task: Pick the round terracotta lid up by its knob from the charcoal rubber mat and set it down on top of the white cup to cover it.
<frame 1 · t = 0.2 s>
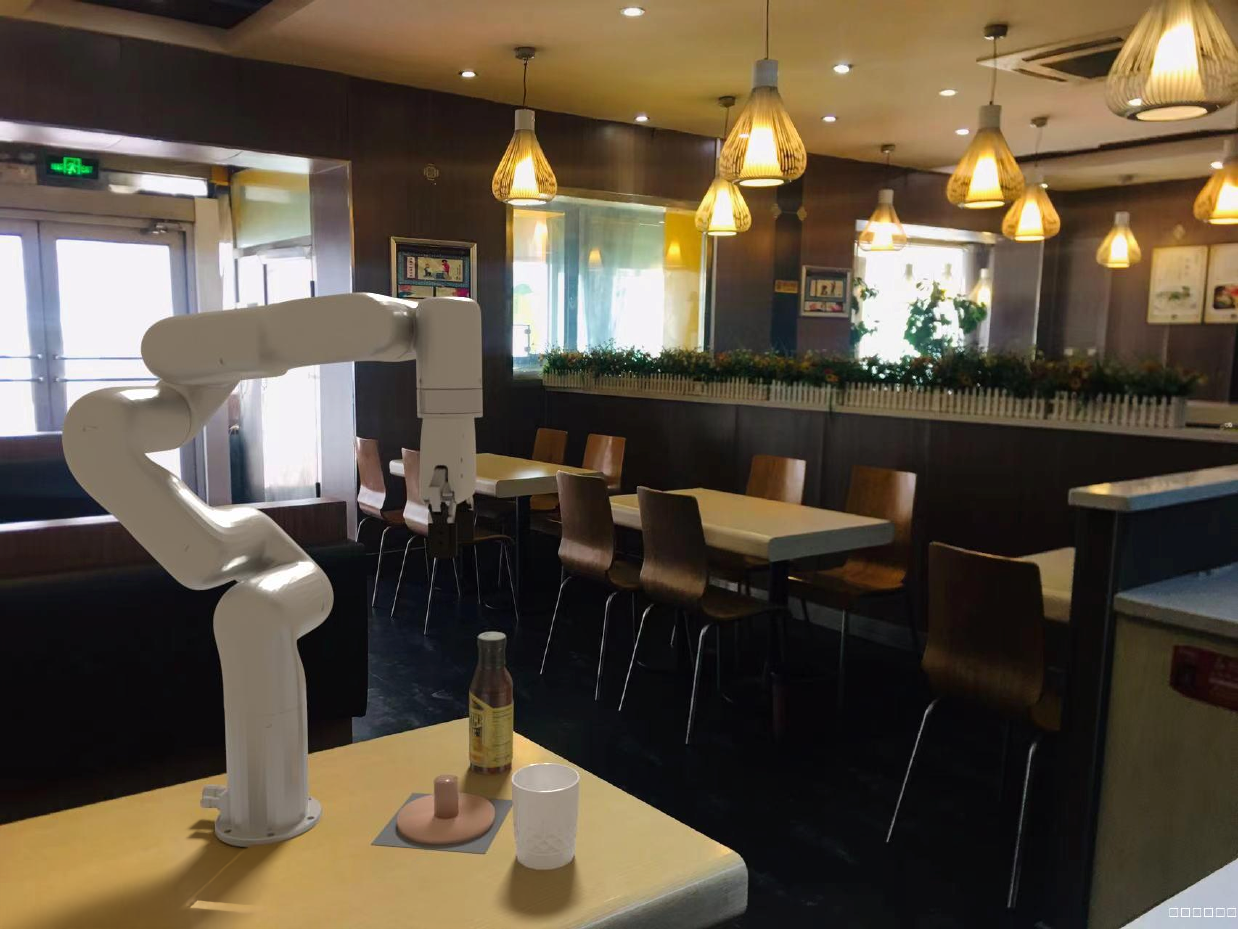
hand: (452, 549, 111), 36 cm above the table, tool pointing down, fingers open, 9 cm apart
white cup: (545, 860, 110), on the table
sauce bottle: (491, 771, 135), on the table
lid: (446, 821, 118), point 1 cm above the table, touching mat
mat: (446, 825, 118), on the table
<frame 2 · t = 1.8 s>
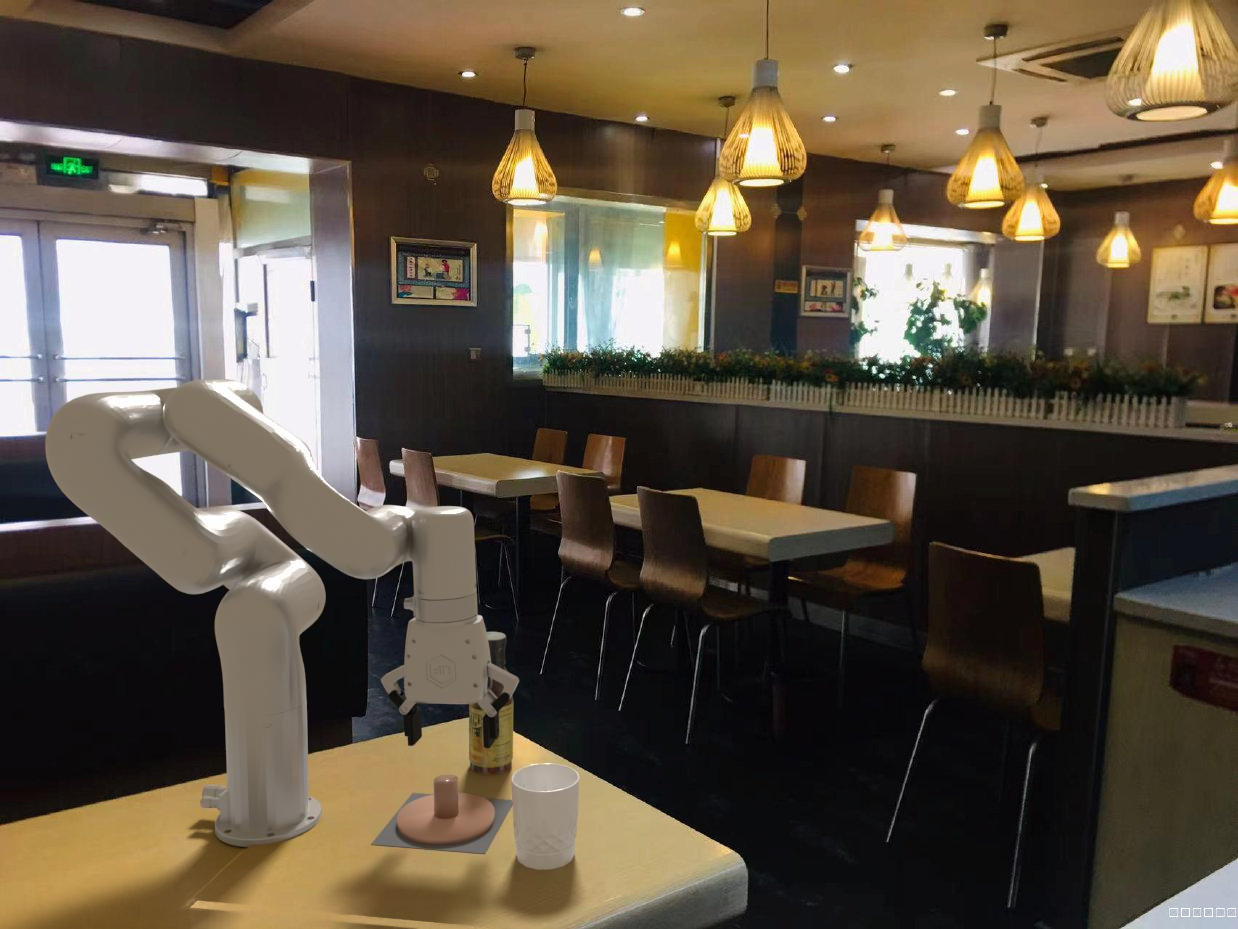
hand: (452, 742, 117), 11 cm above the table, tool pointing down, fingers open, 9 cm apart
nothing on the table moved.
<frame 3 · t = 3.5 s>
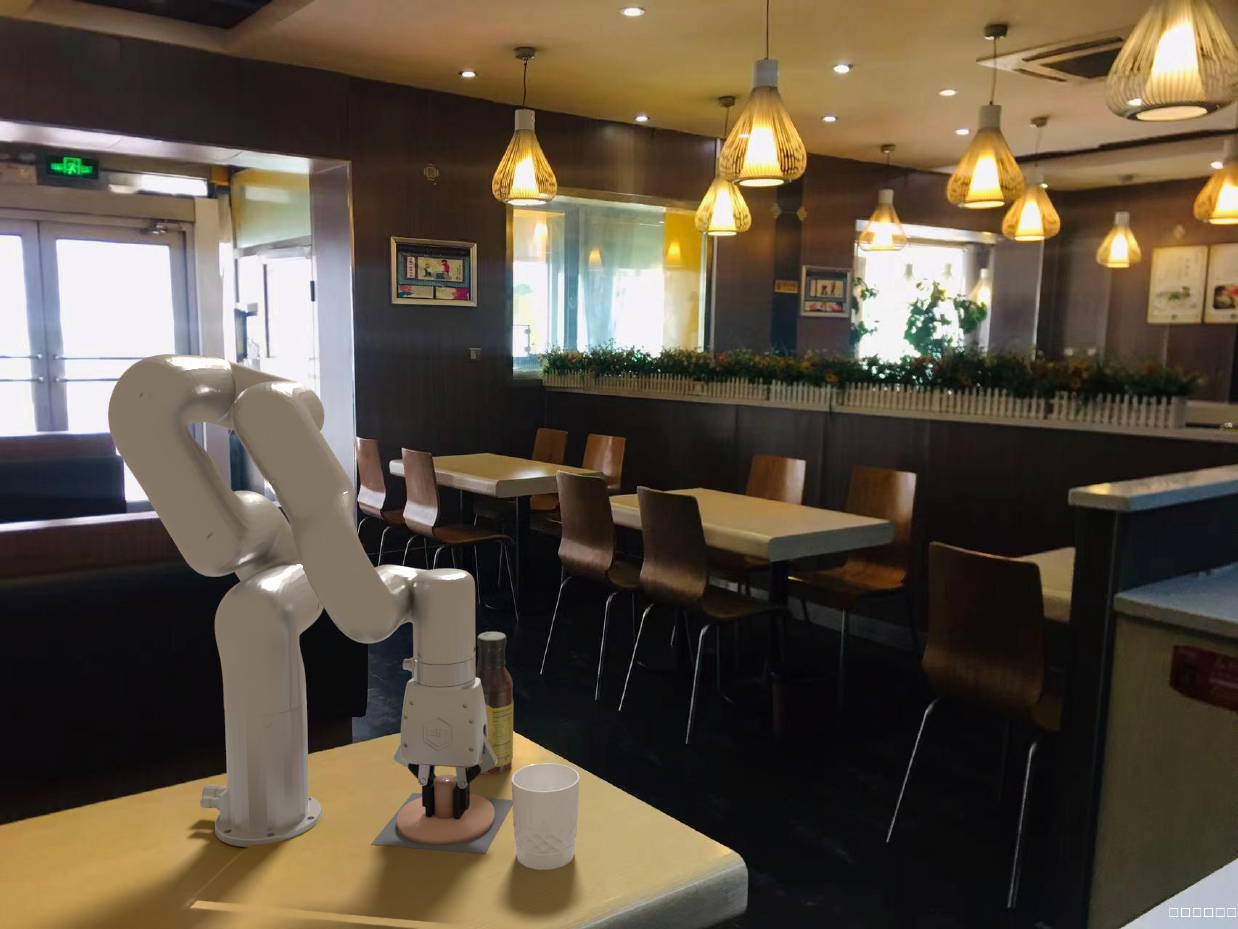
hand: (446, 812, 118), 2 cm above the table, tool pointing down, fingers closed on lid, 3 cm apart
lid: (446, 821, 118), point 1 cm above the table, touching gripper, mat
everything else where it was.
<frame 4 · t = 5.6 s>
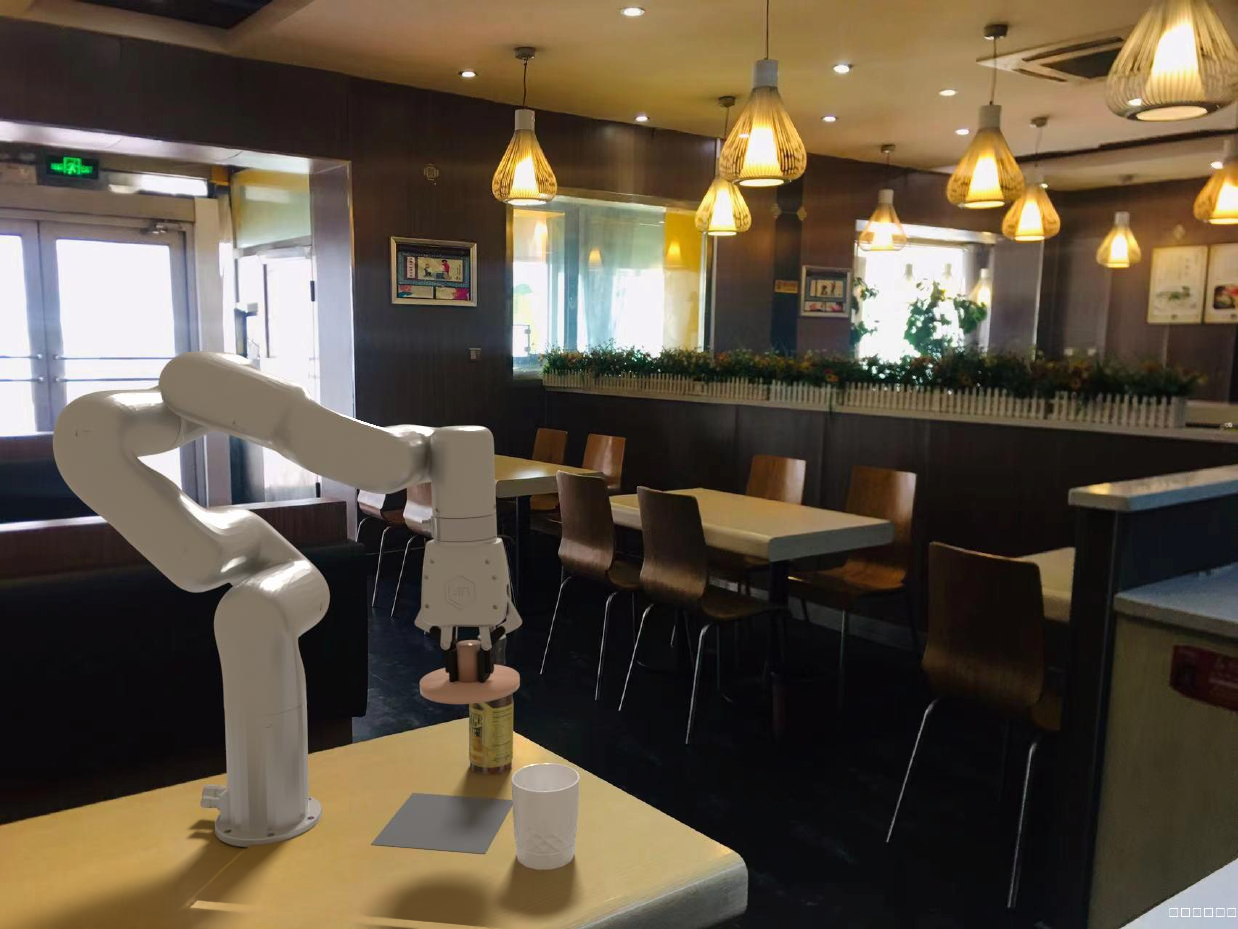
hand: (470, 677, 114), 20 cm above the table, tool pointing down, fingers closed on lid, 3 cm apart
lid: (470, 686, 114), point 18 cm above the table, touching gripper
everything else where it was.
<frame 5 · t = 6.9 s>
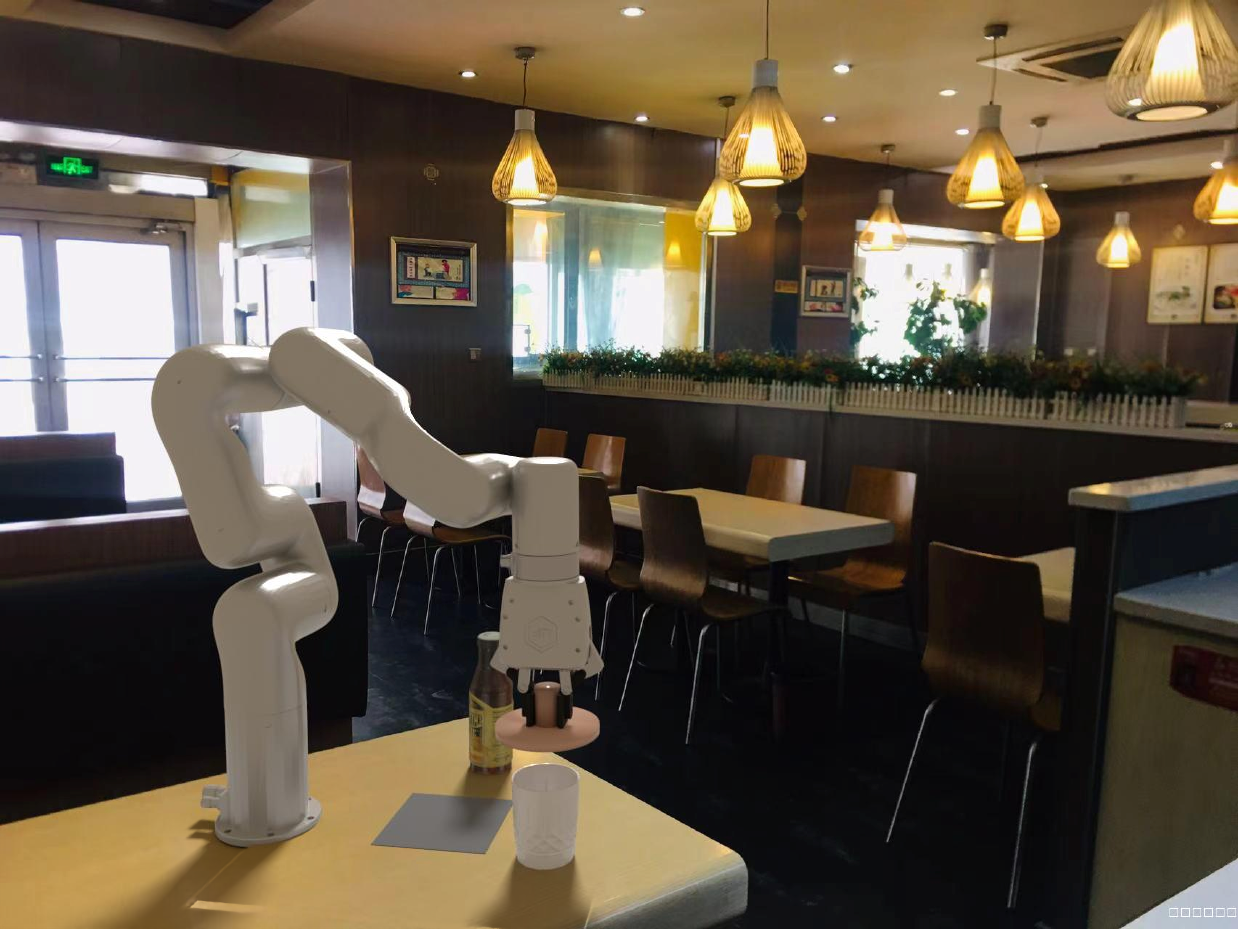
hand: (547, 722, 108), 17 cm above the table, tool pointing down, fingers closed on lid, 3 cm apart
lid: (547, 731, 109), point 15 cm above the table, touching gripper
everything else where it was.
when the fingers open (13 cm above the table, at t = 7.7 s): lid drops 2 cm, resting on white cup.
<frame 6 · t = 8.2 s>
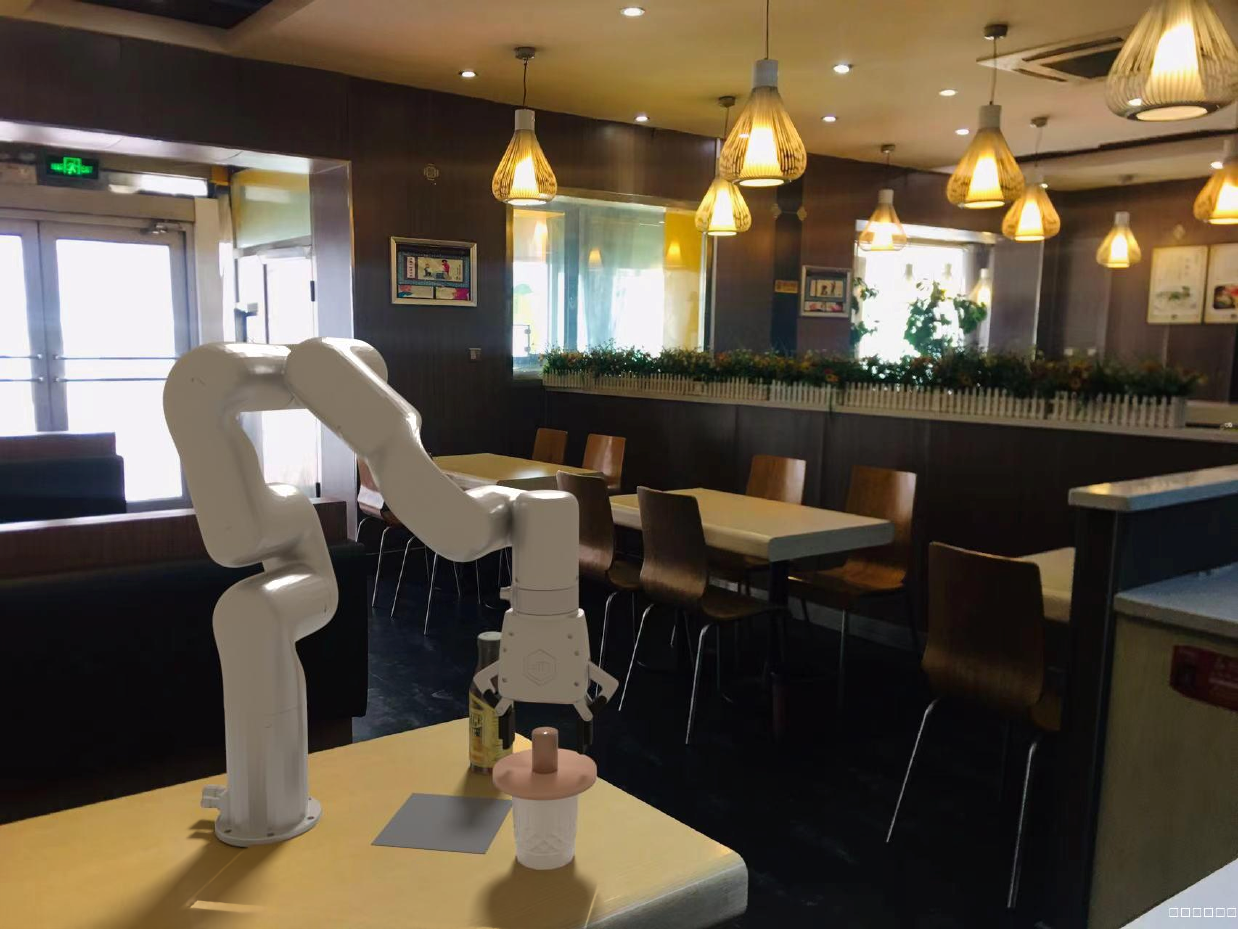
hand: (545, 747, 109), 14 cm above the table, tool pointing down, fingers open, 8 cm apart
white cup: (545, 860, 110), on the table, touching lid
lid: (544, 777, 109), point 10 cm above the table, touching white cup
everything else where it was.
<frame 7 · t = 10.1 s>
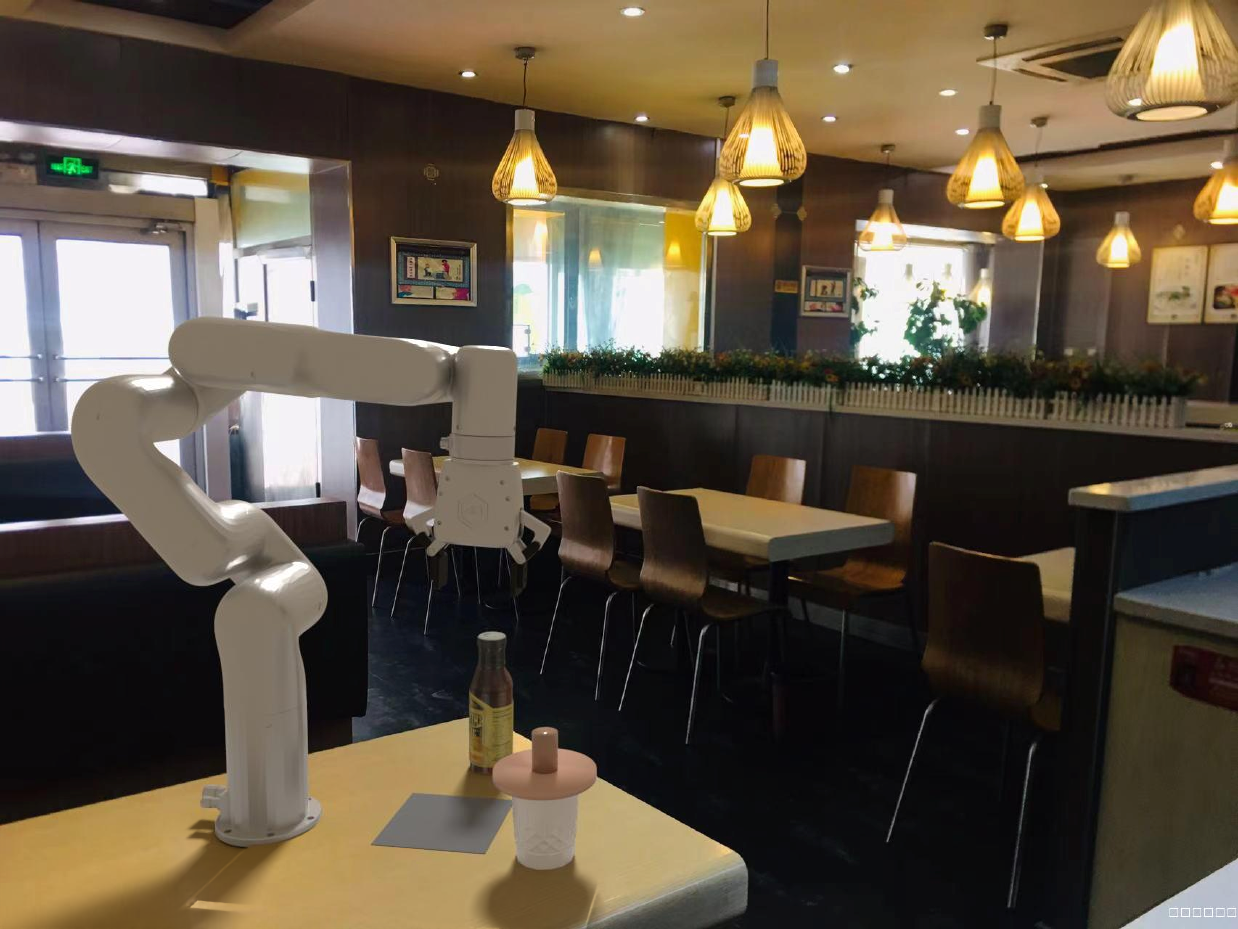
hand: (477, 590, 114), 30 cm above the table, tool pointing down, fingers open, 9 cm apart
nothing on the table moved.
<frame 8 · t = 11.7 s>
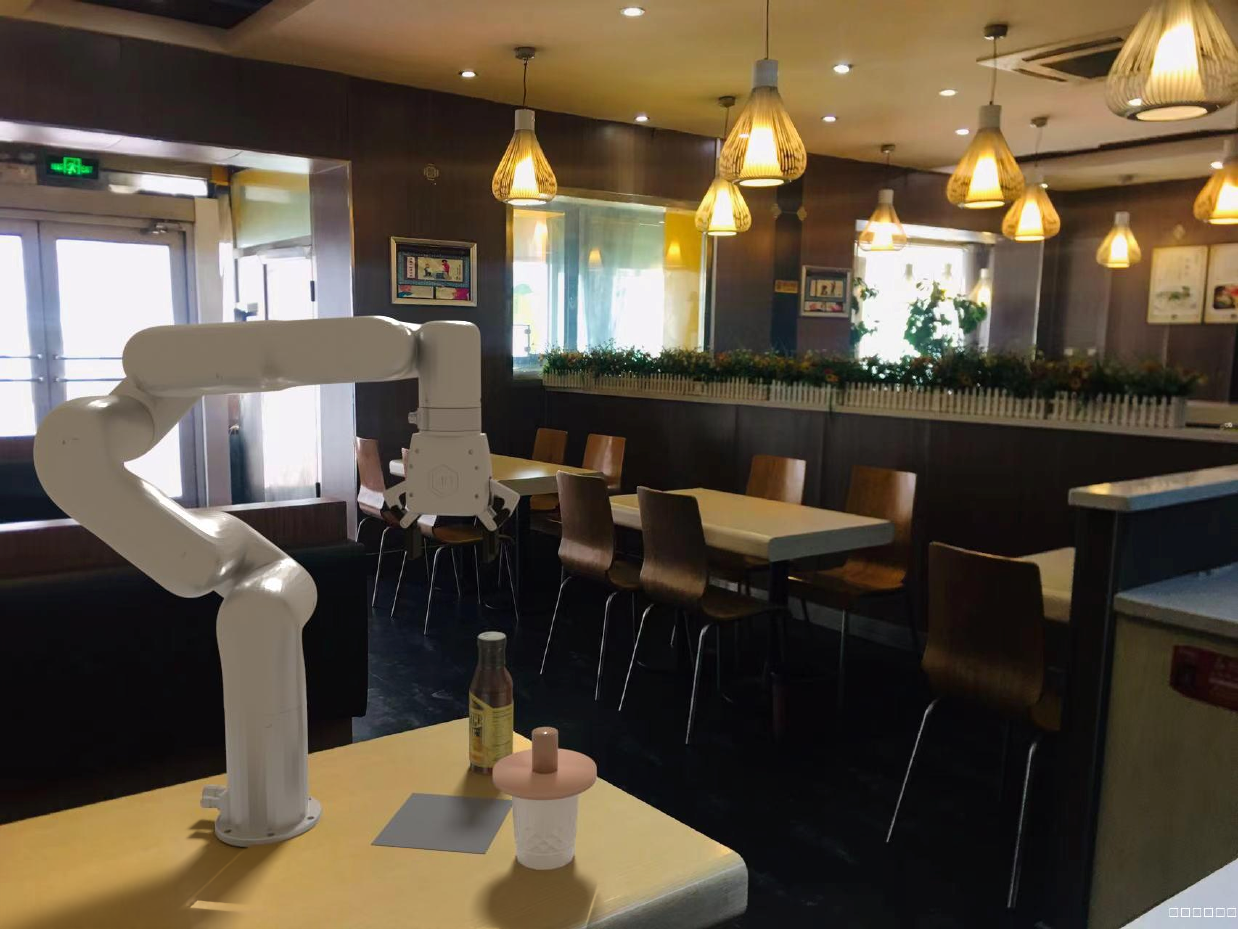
hand: (451, 559, 118), 33 cm above the table, tool pointing down, fingers open, 9 cm apart
nothing on the table moved.
at the end: lid 0.0 cm from the white cup (horizontally); lid point 9.9 cm above the table; white cup tilted 0° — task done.
